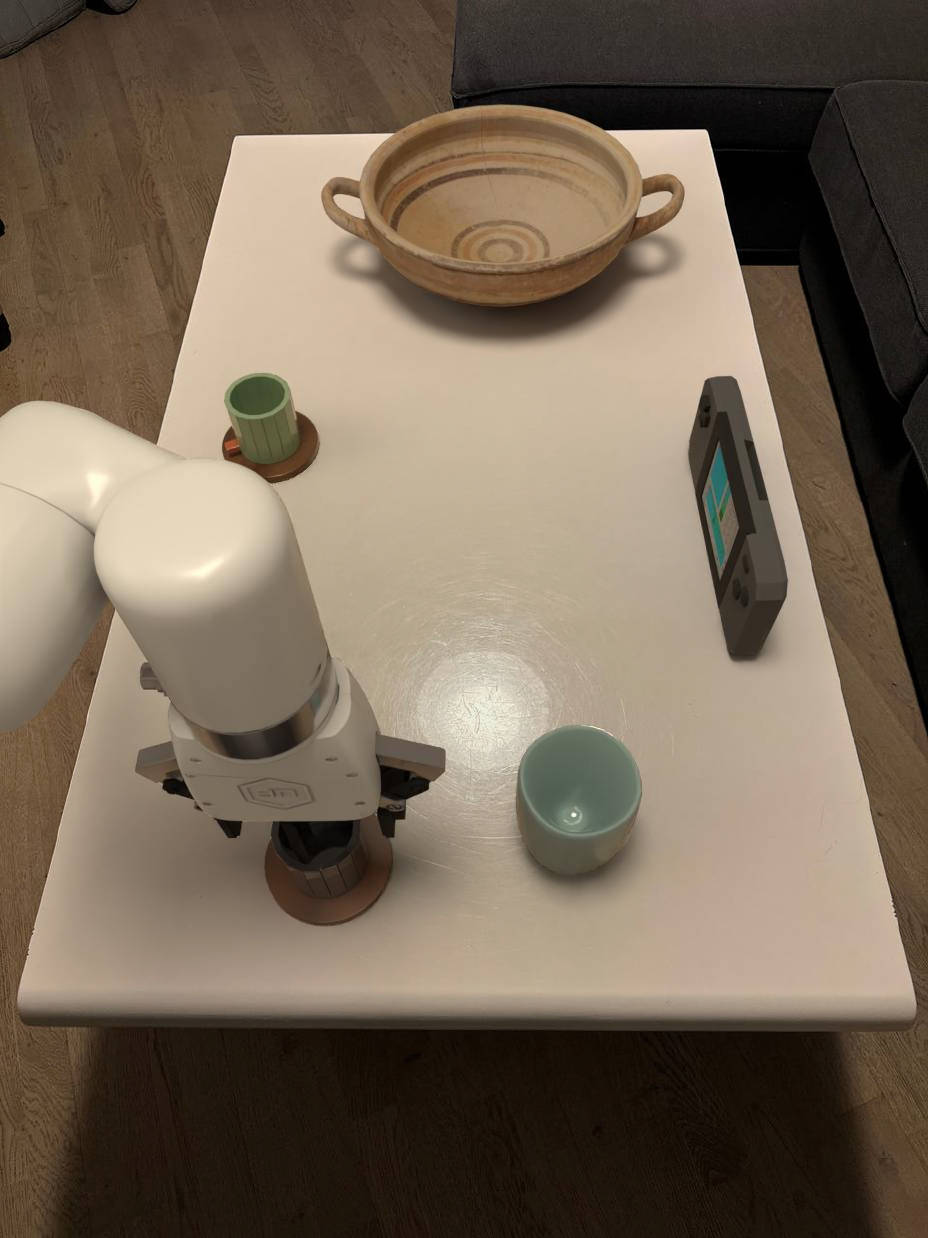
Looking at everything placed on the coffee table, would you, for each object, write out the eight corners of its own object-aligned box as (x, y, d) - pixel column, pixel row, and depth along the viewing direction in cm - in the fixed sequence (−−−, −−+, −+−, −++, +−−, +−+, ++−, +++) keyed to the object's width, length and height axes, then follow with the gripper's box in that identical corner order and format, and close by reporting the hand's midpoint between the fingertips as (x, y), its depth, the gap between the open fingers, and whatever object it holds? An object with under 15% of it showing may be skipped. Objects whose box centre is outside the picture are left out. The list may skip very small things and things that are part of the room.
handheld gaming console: (681, 450, 88) (702, 367, 79) (711, 449, 88) (735, 366, 79) (724, 662, 75) (755, 591, 67) (759, 661, 75) (793, 589, 67)
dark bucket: (282, 899, 65) (265, 872, 60) (293, 803, 68) (278, 770, 63) (366, 899, 64) (356, 872, 60) (372, 803, 68) (364, 770, 63)
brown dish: (216, 483, 86) (214, 477, 86) (230, 413, 91) (229, 407, 91) (314, 483, 86) (313, 477, 86) (323, 412, 91) (322, 406, 90)
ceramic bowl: (657, 186, 111) (672, 100, 102) (685, 352, 95) (705, 266, 86) (343, 189, 111) (331, 104, 103) (319, 353, 96) (303, 269, 87)
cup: (497, 805, 69) (499, 746, 60) (594, 770, 70) (609, 707, 62) (539, 905, 65) (547, 856, 56) (641, 865, 66) (664, 812, 58)
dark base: (258, 926, 64) (256, 923, 64) (274, 802, 69) (272, 798, 69) (389, 926, 64) (388, 923, 63) (396, 802, 69) (395, 798, 68)
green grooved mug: (309, 452, 87) (299, 405, 82) (237, 476, 86) (222, 431, 81) (289, 411, 90) (277, 364, 85) (219, 434, 89) (203, 388, 84)
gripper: (56, 753, 43) (167, 874, 57) (434, 751, 42) (450, 874, 57) (93, 616, 47) (188, 761, 61) (438, 613, 47) (452, 760, 61)
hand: (314, 815), depth 59 cm, fingers open, 9 cm apart
